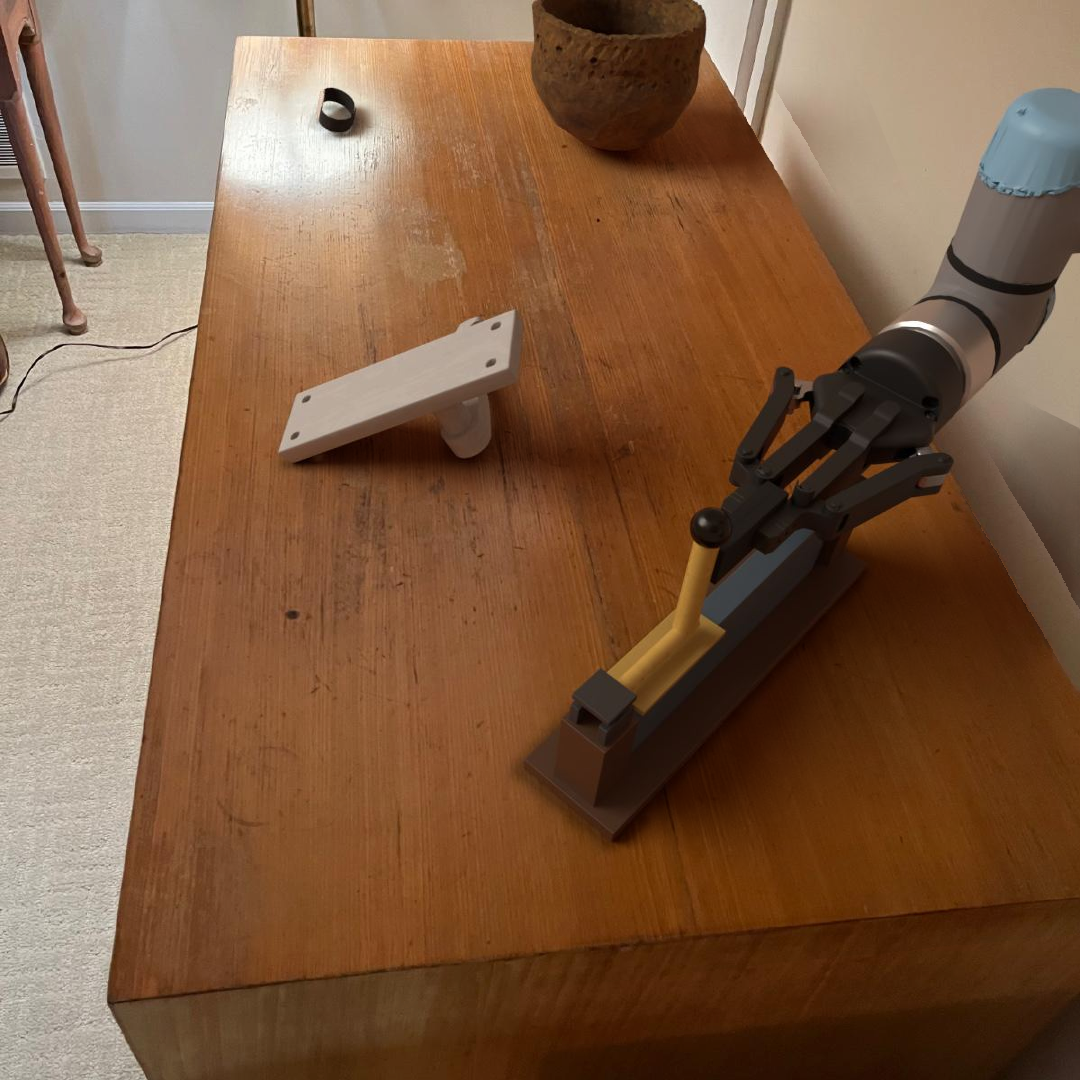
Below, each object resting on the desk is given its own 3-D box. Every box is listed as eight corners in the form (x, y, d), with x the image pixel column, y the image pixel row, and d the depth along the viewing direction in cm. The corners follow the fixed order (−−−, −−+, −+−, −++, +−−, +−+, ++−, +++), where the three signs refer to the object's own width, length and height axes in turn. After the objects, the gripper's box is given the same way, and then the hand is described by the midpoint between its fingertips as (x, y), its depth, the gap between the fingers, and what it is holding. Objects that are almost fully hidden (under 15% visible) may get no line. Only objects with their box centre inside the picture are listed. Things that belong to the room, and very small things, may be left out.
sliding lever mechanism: (782, 523, 78) (815, 429, 71) (863, 572, 75) (905, 480, 68) (522, 767, 62) (531, 678, 55) (611, 842, 59) (632, 758, 52)
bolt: (678, 613, 61) (709, 491, 53) (708, 634, 60) (744, 513, 52) (602, 684, 57) (625, 563, 50) (633, 707, 56) (661, 588, 49)
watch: (317, 106, 119) (313, 75, 117) (357, 106, 120) (355, 75, 117) (314, 137, 114) (310, 105, 112) (356, 137, 115) (354, 106, 112)
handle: (337, 518, 83) (559, 446, 75) (276, 452, 77) (508, 367, 70) (372, 379, 94) (568, 304, 87) (321, 313, 89) (524, 227, 82)
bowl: (528, 97, 124) (536, -36, 113) (681, 110, 125) (703, -22, 114) (520, 172, 112) (528, 30, 101) (690, 186, 112) (717, 46, 101)
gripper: (980, 465, 69) (791, 670, 56) (815, 377, 74) (610, 545, 62) (1026, 377, 63) (828, 582, 51) (844, 289, 69) (625, 453, 56)
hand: (708, 561), depth 56 cm, fingers closed
